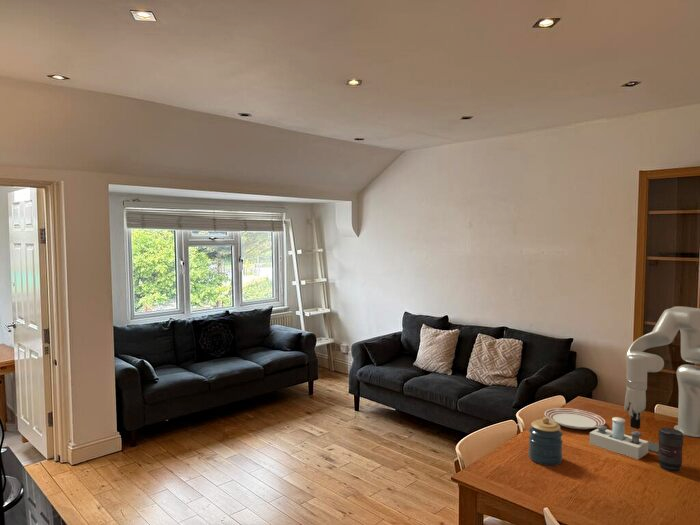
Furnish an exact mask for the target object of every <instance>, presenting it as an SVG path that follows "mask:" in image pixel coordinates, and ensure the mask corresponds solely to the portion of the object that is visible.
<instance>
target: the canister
mask: <svg viewBox="0 0 700 525" xmlns="http://www.w3.org/2000/svg"><path fill="white" fill-rule="evenodd" d="M530 425H531V426H529V428H528V430H529V436H528V439H529V442H528V443H529V444H528V446H529V447H528V456H529V459H530V460H531V461H533V462H534V463H537V464H539V465H543V466H558V465H560V464H562V463H563V462H562V461H563V443H564V442H563V440H562V437H563V435H564V433H563V432H562V430H561V425H559V424H557V423H555V422H554V421H551V420H549V419H548V418H547V417H546V416H543V417H542V418H539V419H536V420H533V421H531V424H530Z"/></svg>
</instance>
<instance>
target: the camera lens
mask: <svg viewBox="0 0 700 525" xmlns="http://www.w3.org/2000/svg"><path fill="white" fill-rule="evenodd" d="M658 444H659V452H658V453H657V457H658V464H659V467H660V468H661V469H663V470H665V471H668V472H672V473H678V472H680V470H681V468H682V464H683V448H684V435H683V433H682V432H681V431H679V430H676V429H674V428H671V427H660V428H659V431H658Z"/></svg>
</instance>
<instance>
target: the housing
mask: <svg viewBox="0 0 700 525" xmlns="http://www.w3.org/2000/svg"><path fill="white" fill-rule="evenodd" d="M588 440H589V442H588V444H589V445H591V446H595V447H598V448H601V449H604V450H608V451H610V452H614V453H617V454H620V455H623V456H625V455H626V456H625V457H628V456H629V458H631V457H632V458H631V459H635V460H640V459H642V458H643V457H645V456H646V455H647V454H649V451H648V441H649V440H646V439H641V438H639V444H635V443H632V435H627V434H625V433H624V440H623V441H621V440H618V439H614V438H612V429H608V428H607V430H605V434H602V433H599V429H597V428H595V429H594V430H592V431H590V432H589V439H588ZM645 440H646V441H645Z"/></svg>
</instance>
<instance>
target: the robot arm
mask: <svg viewBox="0 0 700 525" xmlns="http://www.w3.org/2000/svg"><path fill="white" fill-rule="evenodd" d="M678 332H680V357H681V359H682V360H683V361H685V362H688V363H691V364H681V365H680V366H678V367H677V369H676V379H677V386H678V405H677V406H678V410H677V411H678V412H677V416H678V417H677V424H675V425H674V426H673V429H676V430H679V431H681V432H682V433H683V436H688V437H693V438H700V366H699V365H700V308H699V307H690V306H681V305H680V306H679V305H678V306H672V307H671V308H667V309H664V311H663V312H662V314H661V315H660V317H659V318H658V320H657V322H656V324H655V326H653V329H652V331H651V332H648V333H646V334H644V335H642V336H640V337H638V338H637V339H635V340H634V341H633V342H632V343H631V345H630V346H629V348H628V349H627V352H626V354H625V357H624V358H625V359H624V361H625V363H626V377H625V378H626V380H625V381H626V382H625V387H626V390H625V397H624V412H628V416H629V418H630V428H632V429H636V430H639V429H641V417H642V412H643V411H645V410H646V408H647V407H646V406H647V405H646V404H647V403H646V402H647V394H646V393H647V392H646V391H647V390H648V373H658V372H660V371H661V370H663V368H664V367H665V360H664V358H662V357H661V356H660V355H658V354H654V353H649V352H645V351H646V350H648V349H651V348H656V347H662V346H667V345H670V344H671V343H673V342H674V340H675V338H676V336H677V334H678ZM693 364H696V365H693Z"/></svg>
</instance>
